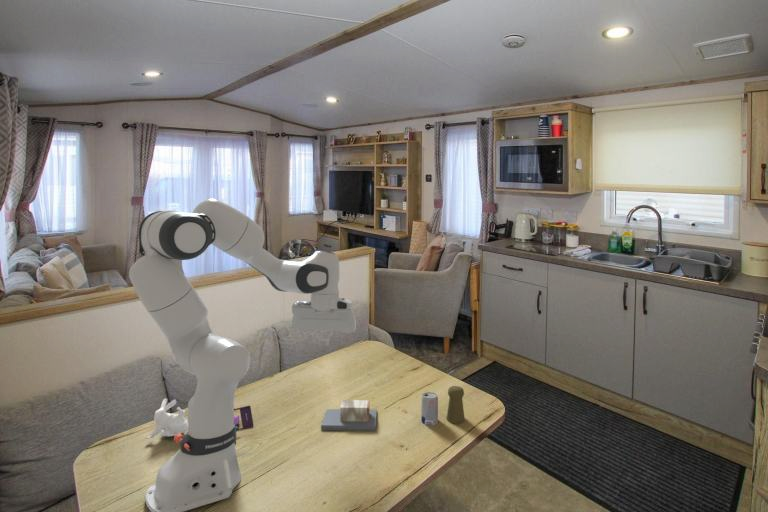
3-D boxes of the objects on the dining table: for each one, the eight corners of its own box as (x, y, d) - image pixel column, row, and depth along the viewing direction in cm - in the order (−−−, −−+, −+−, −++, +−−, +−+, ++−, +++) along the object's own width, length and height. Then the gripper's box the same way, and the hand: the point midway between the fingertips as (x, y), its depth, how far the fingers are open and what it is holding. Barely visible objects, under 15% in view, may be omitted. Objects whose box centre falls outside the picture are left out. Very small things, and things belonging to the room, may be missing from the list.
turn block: (340, 407, 135) (368, 407, 135) (342, 400, 141) (369, 400, 141) (340, 421, 135) (368, 421, 135) (342, 413, 141) (369, 413, 141)
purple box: (253, 425, 134) (223, 432, 130) (252, 430, 138) (223, 437, 134) (250, 404, 137) (220, 411, 133) (249, 410, 141) (220, 416, 137)
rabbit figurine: (144, 439, 126) (143, 407, 126) (153, 427, 134) (153, 397, 133) (187, 436, 128) (186, 404, 128) (194, 424, 136) (193, 395, 135)
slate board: (376, 413, 144) (376, 409, 144) (375, 430, 132) (375, 425, 132) (326, 413, 144) (326, 409, 144) (321, 430, 132) (321, 425, 132)
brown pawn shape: (445, 422, 138) (445, 389, 137) (447, 414, 144) (448, 383, 143) (463, 425, 136) (464, 391, 135) (465, 417, 142) (466, 385, 141)
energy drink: (426, 426, 143) (427, 390, 142) (440, 430, 139) (441, 394, 139) (418, 431, 138) (418, 395, 138) (432, 436, 135) (432, 399, 134)
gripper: (289, 302, 132) (288, 346, 132) (355, 304, 131) (354, 348, 132) (294, 299, 138) (293, 341, 138) (357, 301, 138) (355, 344, 138)
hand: (323, 345), depth 135 cm, fingers closed
